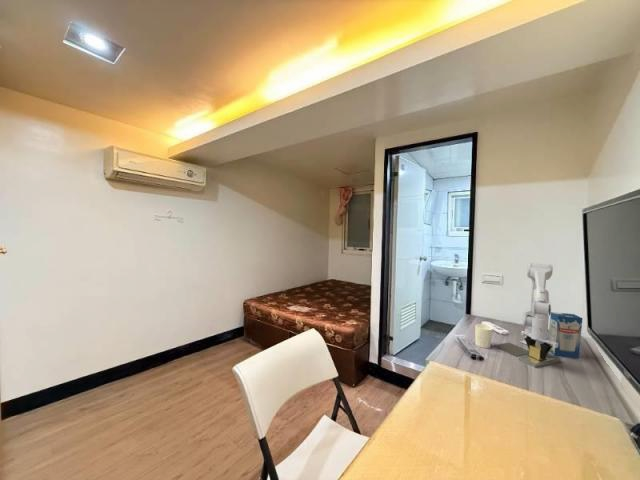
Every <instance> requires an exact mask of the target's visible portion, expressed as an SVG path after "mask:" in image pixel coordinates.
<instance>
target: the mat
mask: <svg viewBox="0 0 640 480" xmlns="http://www.w3.org/2000/svg"><path fill="white" fill-rule="evenodd" d="M492 346H493V347H495V348H497V349H499V350H502V351H504V352H506V353H508V354H509V355H512V356H514V357H516V358H517V357H519V356H522V355H527V354H529V349H526V348H523V347H521V346H518V345H517V344H513V343H511V342H503V343H498V344H493V345H492Z"/></svg>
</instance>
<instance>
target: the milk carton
mask: <svg viewBox="0 0 640 480" xmlns="http://www.w3.org/2000/svg"><path fill="white" fill-rule="evenodd" d="M582 326H583V317H581V316H579V315H576V314H574V313H568V312H567V313H565V312H564V313H563V312H554V311H551V314H550V316H549V327H548V330H549V331H548V339H550V340H552V341H554V342H556V343H558V347H557V348H554V347H552V348H551V349H550V351H549V352H548V353H550V354H553V355H555V356H558V357H560V358H561V357H562V358H571V359H578V360H579V358H580V349H581V338H582V329H583V327H582Z"/></svg>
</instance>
